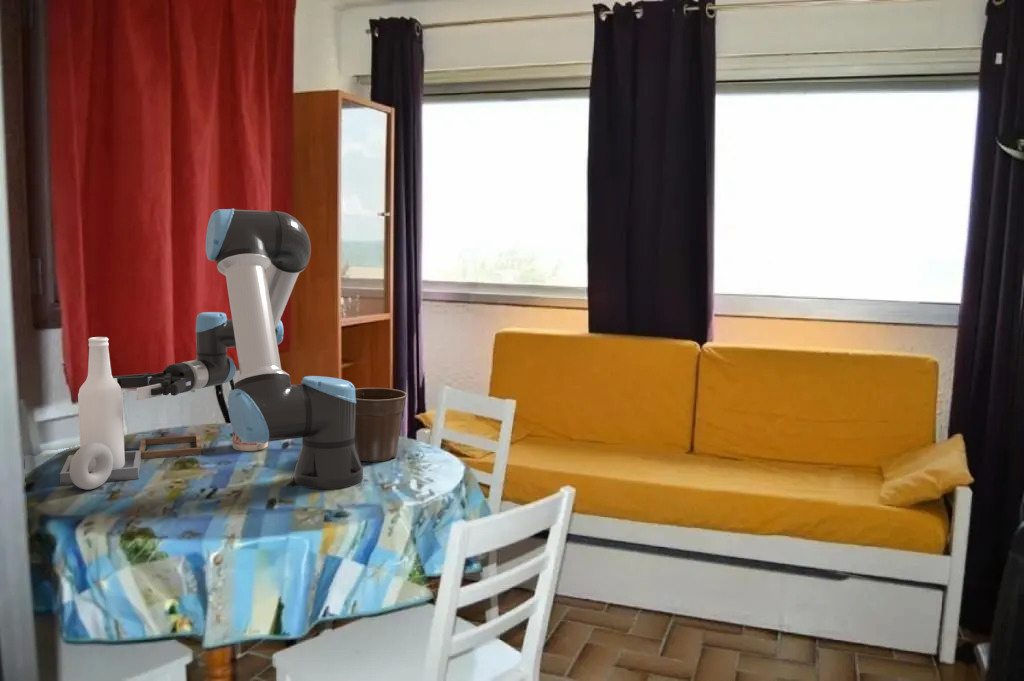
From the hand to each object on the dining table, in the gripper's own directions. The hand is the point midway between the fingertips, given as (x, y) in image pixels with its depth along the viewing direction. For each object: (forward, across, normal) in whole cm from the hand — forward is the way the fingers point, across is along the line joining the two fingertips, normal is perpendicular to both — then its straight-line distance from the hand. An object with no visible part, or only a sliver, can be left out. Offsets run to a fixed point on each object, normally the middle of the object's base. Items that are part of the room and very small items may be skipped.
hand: (114, 391), depth 177 cm
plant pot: (-36, -47, -18) cm, 61 cm away
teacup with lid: (-28, -16, -18) cm, 37 cm away
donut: (+13, -8, -18) cm, 24 cm away
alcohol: (+4, 0, -18) cm, 18 cm away
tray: (+4, 0, -18) cm, 18 cm away
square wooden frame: (-17, +1, -18) cm, 25 cm away
